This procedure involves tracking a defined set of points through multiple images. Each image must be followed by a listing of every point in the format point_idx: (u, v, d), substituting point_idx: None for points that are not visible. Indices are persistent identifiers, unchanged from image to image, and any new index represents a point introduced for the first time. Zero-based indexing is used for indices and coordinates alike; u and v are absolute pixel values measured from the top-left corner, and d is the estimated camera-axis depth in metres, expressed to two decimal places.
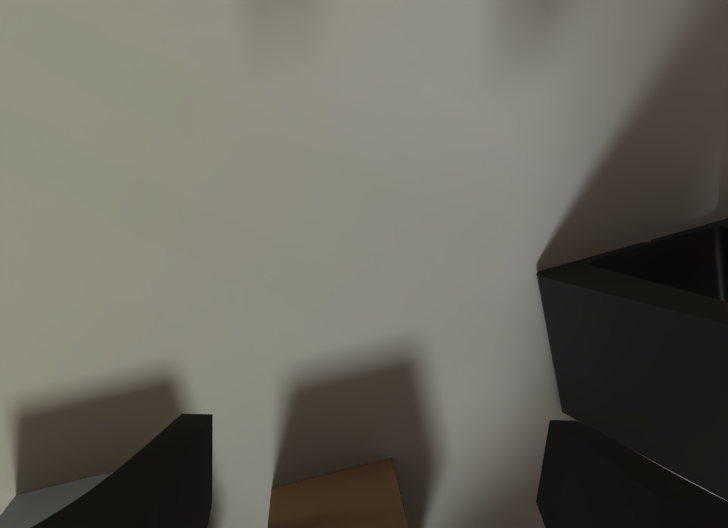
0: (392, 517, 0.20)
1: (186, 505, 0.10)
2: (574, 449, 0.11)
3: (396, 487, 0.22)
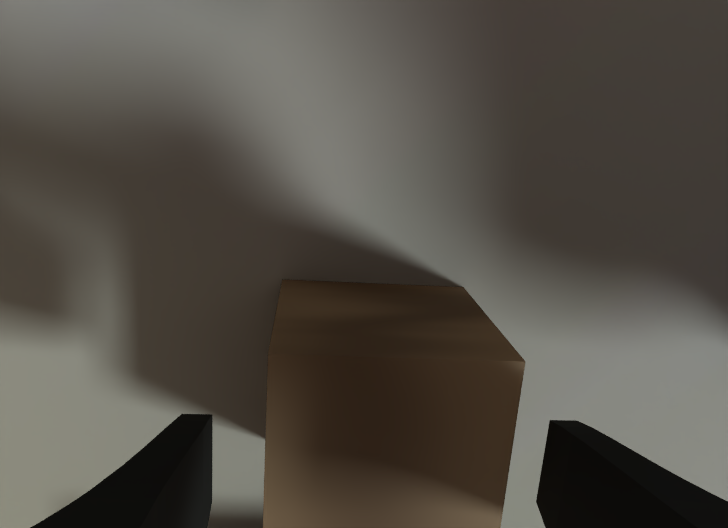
0: None
1: (186, 505, 0.10)
2: (574, 449, 0.11)
3: (278, 303, 0.14)
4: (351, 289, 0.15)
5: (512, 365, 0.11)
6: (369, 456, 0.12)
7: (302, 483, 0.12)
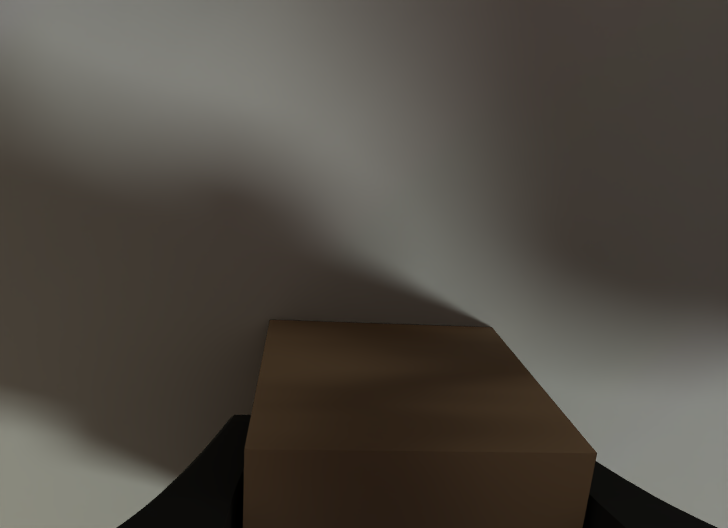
0: None
1: None
2: None
3: (262, 359, 0.11)
4: (355, 334, 0.12)
5: (578, 457, 0.08)
6: None
7: None
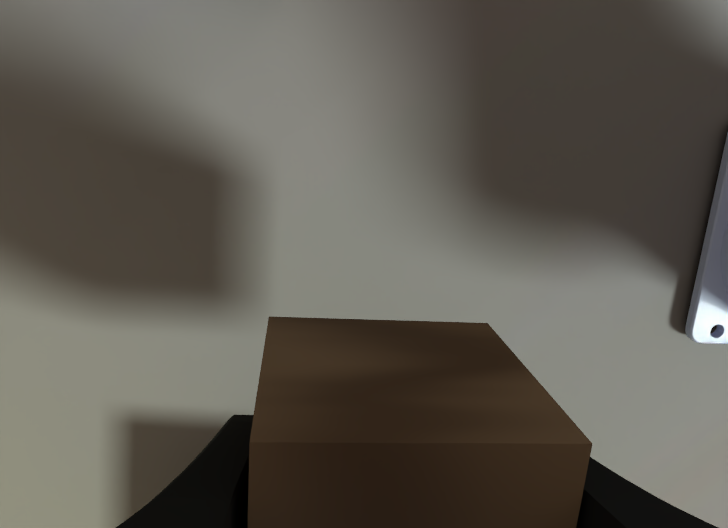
0: None
1: (247, 505, 0.10)
2: None
3: None
4: (354, 331, 0.12)
5: (574, 448, 0.09)
6: None
7: None
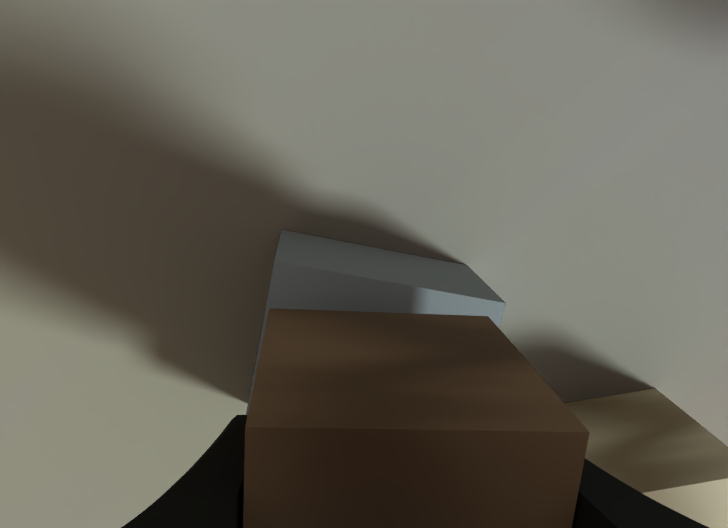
0: None
1: None
2: None
3: (262, 344, 0.11)
4: (354, 322, 0.12)
5: (572, 436, 0.09)
6: None
7: None
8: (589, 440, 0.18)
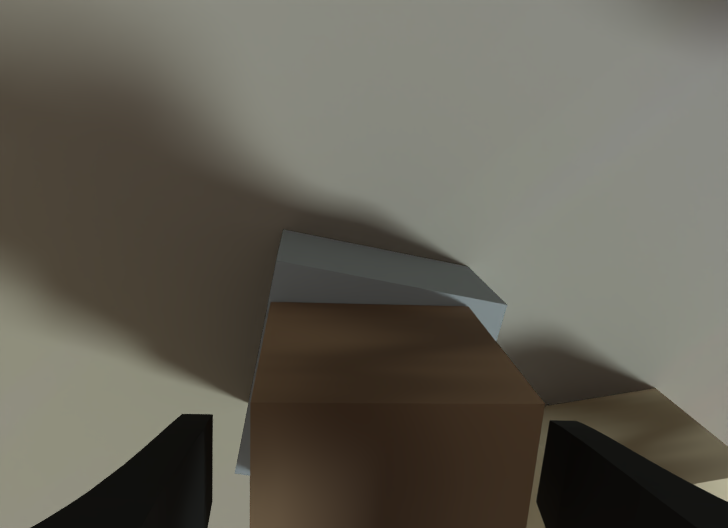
0: None
1: (186, 505, 0.10)
2: (574, 449, 0.11)
3: None
4: (346, 313, 0.14)
5: (530, 408, 0.10)
6: (368, 512, 0.10)
7: None
8: None
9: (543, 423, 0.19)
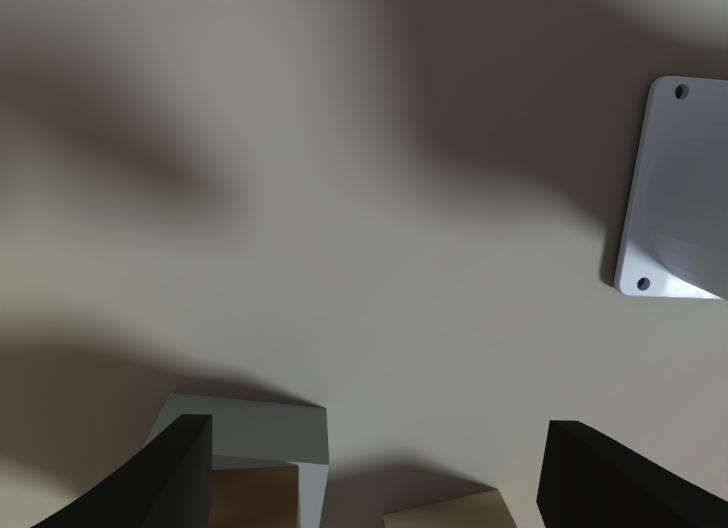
0: None
1: (186, 505, 0.10)
2: (574, 449, 0.11)
3: None
4: None
5: None
6: None
7: None
8: None
9: None
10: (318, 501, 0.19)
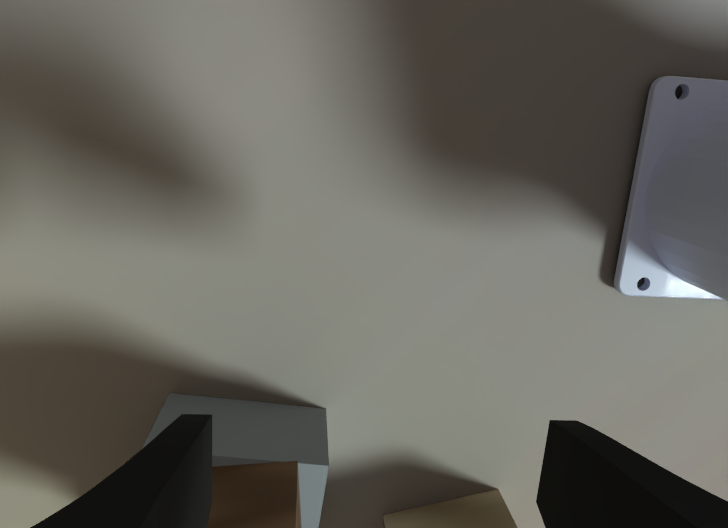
0: None
1: (186, 505, 0.10)
2: (574, 449, 0.11)
3: None
4: None
5: None
6: None
7: None
8: None
9: None
10: (318, 502, 0.19)
